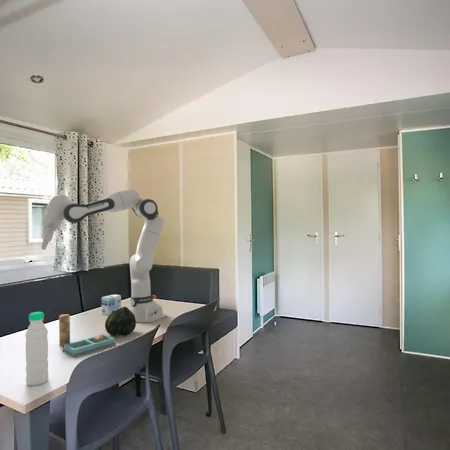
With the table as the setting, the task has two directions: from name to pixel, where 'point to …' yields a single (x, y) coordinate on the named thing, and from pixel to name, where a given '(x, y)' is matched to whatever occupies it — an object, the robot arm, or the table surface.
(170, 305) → the table surface
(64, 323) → the oak post
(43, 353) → the water bottle
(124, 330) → the squash
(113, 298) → the light bulb box
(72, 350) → the housing plate
